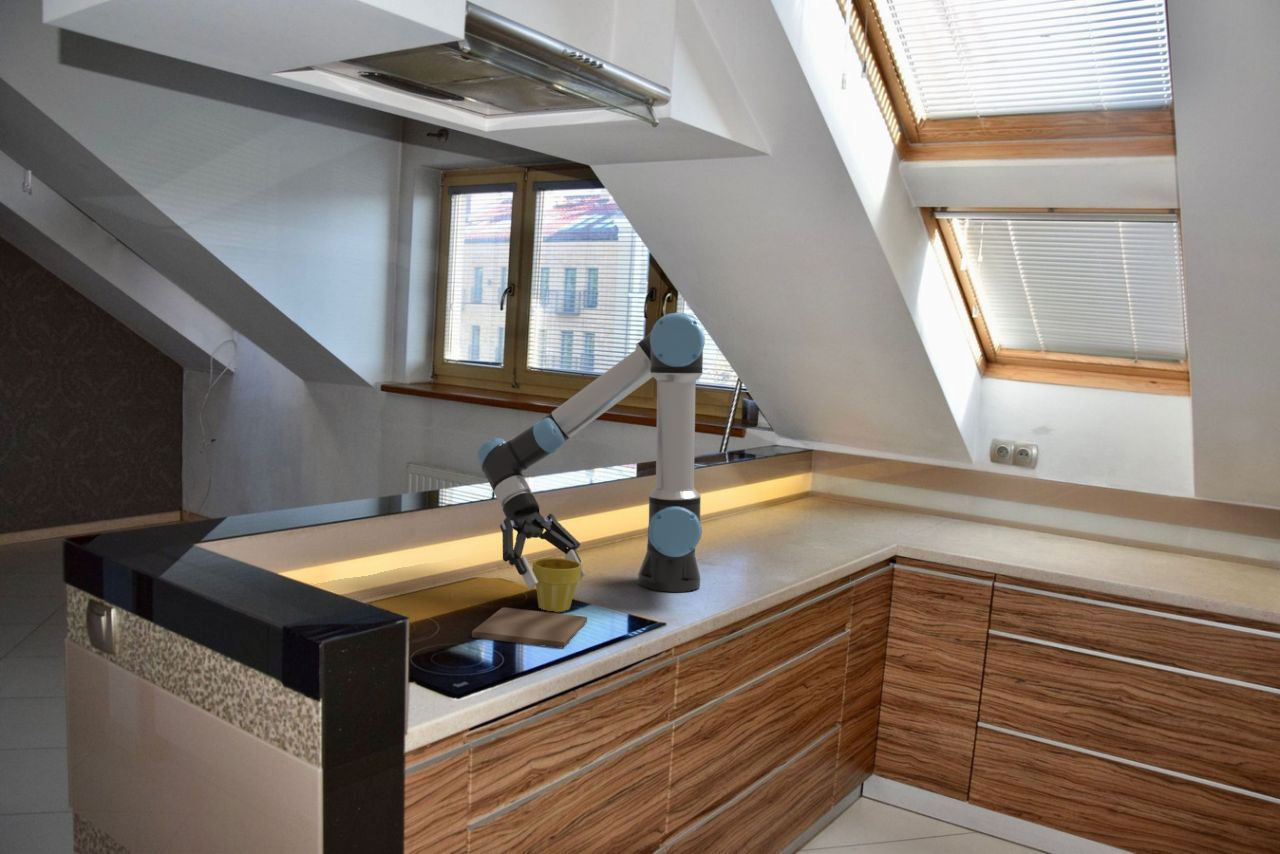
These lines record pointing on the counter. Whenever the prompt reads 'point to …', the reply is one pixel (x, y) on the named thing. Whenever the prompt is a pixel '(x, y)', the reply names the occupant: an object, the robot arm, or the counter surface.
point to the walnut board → (530, 627)
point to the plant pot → (556, 582)
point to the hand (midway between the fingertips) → (558, 582)
